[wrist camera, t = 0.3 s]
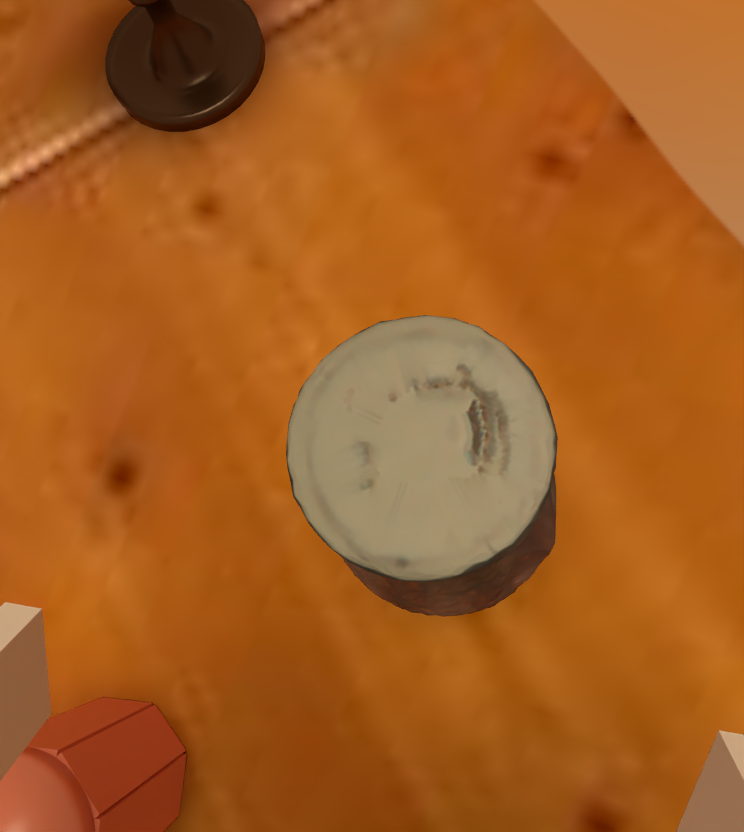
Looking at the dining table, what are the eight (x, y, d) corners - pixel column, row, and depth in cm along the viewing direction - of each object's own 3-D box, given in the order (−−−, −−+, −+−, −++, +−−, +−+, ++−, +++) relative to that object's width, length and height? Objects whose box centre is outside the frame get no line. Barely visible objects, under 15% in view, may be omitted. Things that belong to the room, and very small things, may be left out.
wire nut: (173, 864, 26) (58, 993, 18) (38, 844, 27) (-126, 959, 19) (192, 707, 28) (93, 766, 20) (64, 692, 28) (-80, 743, 21)
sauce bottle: (543, 490, 28) (760, 344, 9) (487, 620, 27) (590, 783, 8) (412, 431, 29) (343, 189, 10) (354, 554, 28) (154, 548, 9)
